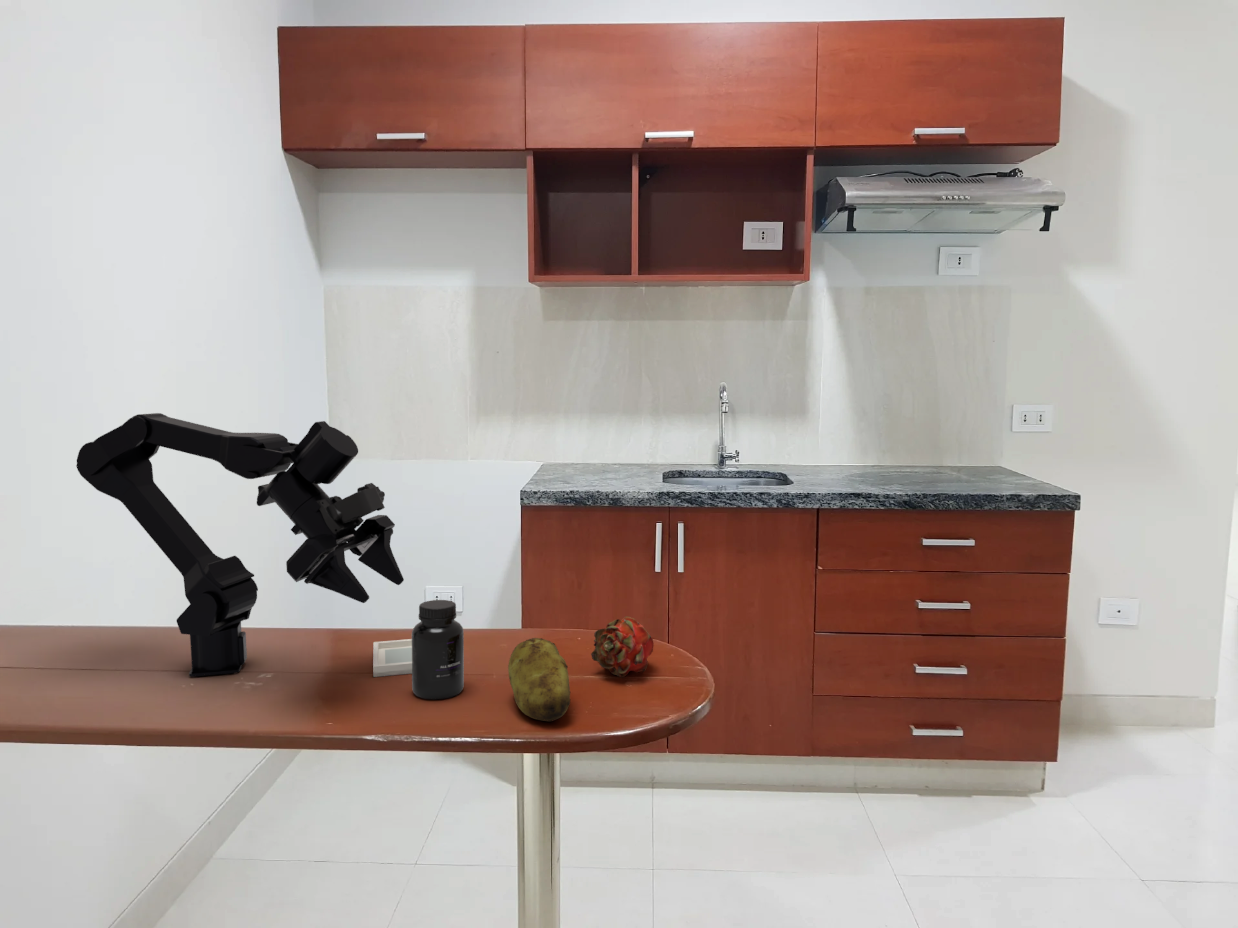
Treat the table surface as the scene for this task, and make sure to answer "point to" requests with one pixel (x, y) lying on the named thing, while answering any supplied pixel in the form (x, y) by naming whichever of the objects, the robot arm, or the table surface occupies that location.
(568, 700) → the potato
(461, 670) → the supplement bottle
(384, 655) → the cream ceramic dish
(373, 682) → the table surface
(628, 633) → the dragon fruit
